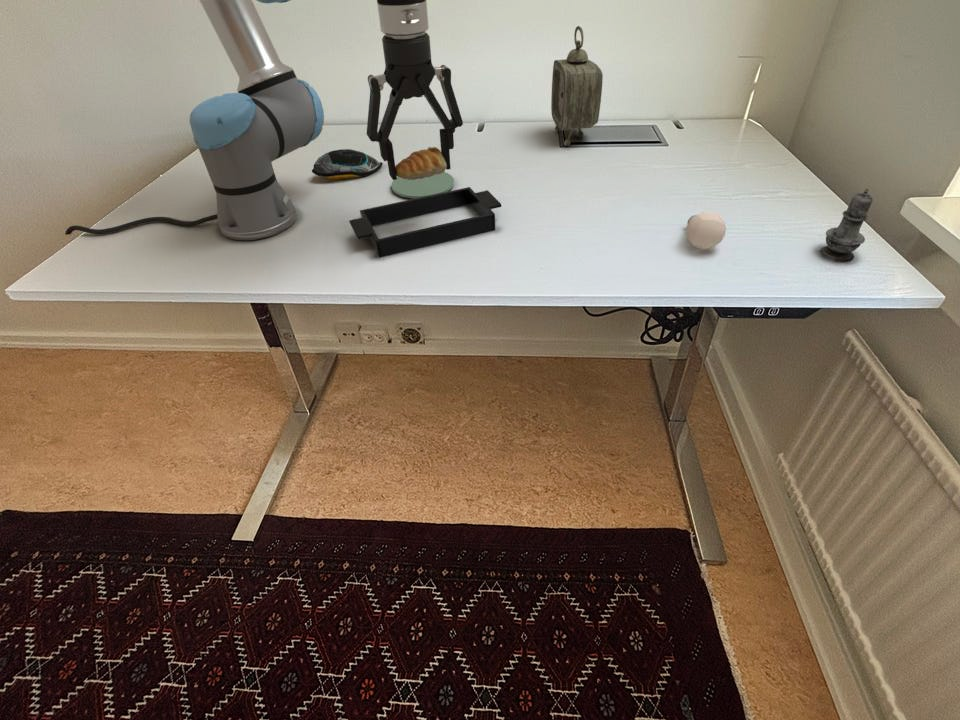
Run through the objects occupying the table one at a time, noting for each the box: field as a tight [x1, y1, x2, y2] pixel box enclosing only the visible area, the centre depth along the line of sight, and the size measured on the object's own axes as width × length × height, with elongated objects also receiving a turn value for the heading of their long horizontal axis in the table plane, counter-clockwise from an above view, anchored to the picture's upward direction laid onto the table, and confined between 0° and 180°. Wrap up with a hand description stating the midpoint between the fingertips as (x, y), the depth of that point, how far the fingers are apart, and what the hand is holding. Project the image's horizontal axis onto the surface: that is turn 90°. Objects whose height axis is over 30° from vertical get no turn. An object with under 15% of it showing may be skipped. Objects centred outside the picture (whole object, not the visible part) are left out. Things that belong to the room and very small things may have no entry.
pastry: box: [395, 146, 447, 180], centre depth 98 cm, size 9×7×4 cm
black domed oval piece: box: [311, 148, 384, 180], centre depth 126 cm, size 9×17×6 cm, turn 116°
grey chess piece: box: [819, 188, 874, 263], centre depth 90 cm, size 6×6×12 cm
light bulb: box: [685, 211, 727, 250], centre depth 97 cm, size 7×7×11 cm
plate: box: [391, 171, 455, 199], centre depth 121 cm, size 14×14×1 cm
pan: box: [349, 186, 502, 259], centre depth 105 cm, size 29×13×4 cm, turn 112°
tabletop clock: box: [550, 25, 604, 147], centre depth 131 cm, size 14×9×25 cm, turn 6°
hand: (420, 171), depth 99 cm, fingers closed on pastry, 10 cm apart
